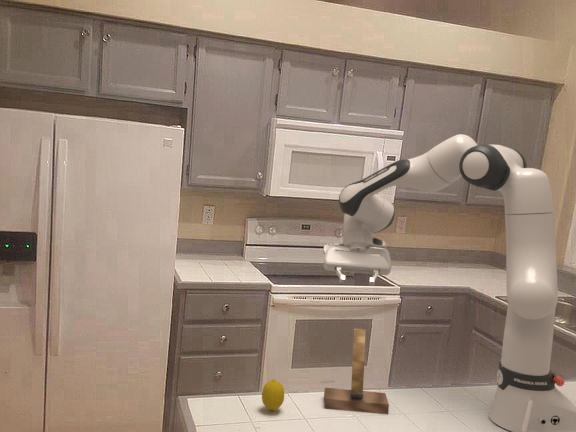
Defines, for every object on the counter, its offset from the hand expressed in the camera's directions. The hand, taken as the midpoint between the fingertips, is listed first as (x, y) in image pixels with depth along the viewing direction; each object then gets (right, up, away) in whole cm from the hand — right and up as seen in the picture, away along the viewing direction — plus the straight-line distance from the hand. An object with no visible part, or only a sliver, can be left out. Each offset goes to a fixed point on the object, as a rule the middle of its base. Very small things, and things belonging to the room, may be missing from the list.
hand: (357, 283), depth 154 cm
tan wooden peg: (-3, -26, -21) cm, 33 cm away
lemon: (-24, -29, -25) cm, 45 cm away
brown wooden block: (-3, -29, -18) cm, 35 cm away
